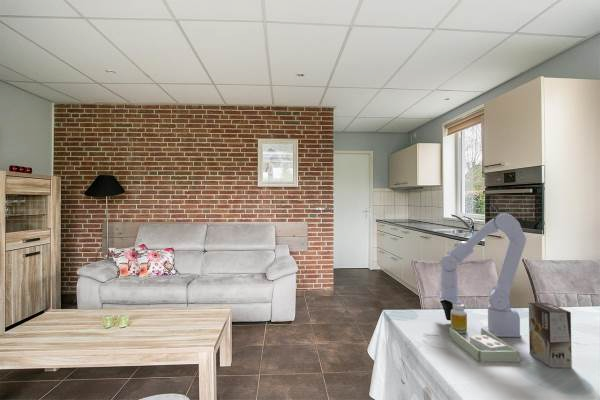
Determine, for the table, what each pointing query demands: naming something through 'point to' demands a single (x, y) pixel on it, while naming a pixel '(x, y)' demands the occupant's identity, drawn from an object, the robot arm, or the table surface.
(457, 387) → the table surface
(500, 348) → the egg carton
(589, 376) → the table surface
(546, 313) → the coffee box
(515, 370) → the table surface
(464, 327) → the supplement bottle
